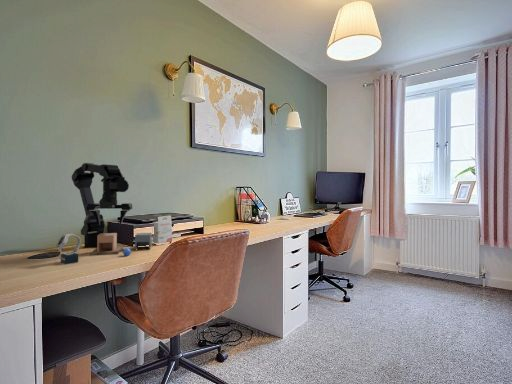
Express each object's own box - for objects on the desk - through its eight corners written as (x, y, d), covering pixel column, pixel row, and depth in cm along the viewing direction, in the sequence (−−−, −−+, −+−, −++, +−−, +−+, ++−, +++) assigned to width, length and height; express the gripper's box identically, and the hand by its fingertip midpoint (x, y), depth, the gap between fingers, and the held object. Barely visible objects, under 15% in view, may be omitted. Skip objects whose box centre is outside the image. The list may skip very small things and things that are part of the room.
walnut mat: (90, 255, 124) (90, 252, 124) (97, 249, 135) (97, 247, 135) (117, 253, 127) (117, 251, 127) (122, 248, 138) (122, 246, 138)
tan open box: (97, 251, 127) (97, 235, 127) (101, 248, 133) (101, 233, 133) (113, 250, 129) (113, 235, 129) (116, 247, 135) (116, 232, 135)
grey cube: (135, 250, 135) (135, 235, 135) (137, 247, 141) (137, 233, 141) (150, 249, 136) (150, 234, 136) (151, 246, 143) (151, 232, 143)
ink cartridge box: (166, 242, 155) (166, 214, 155) (172, 243, 152) (172, 215, 152) (152, 244, 148) (152, 216, 148) (158, 245, 145) (157, 216, 145)
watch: (54, 262, 112) (54, 234, 112) (77, 258, 118) (77, 232, 118) (59, 265, 108) (59, 236, 108) (83, 261, 114) (83, 233, 114)
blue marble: (122, 256, 122) (122, 249, 122) (123, 255, 125) (123, 247, 125) (130, 256, 123) (130, 248, 123) (131, 254, 126) (131, 247, 126)
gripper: (81, 191, 124) (81, 228, 124) (127, 192, 128) (127, 227, 128) (90, 191, 134) (90, 224, 135) (132, 191, 139) (132, 223, 139)
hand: (109, 225), depth 134 cm, fingers open, 9 cm apart
